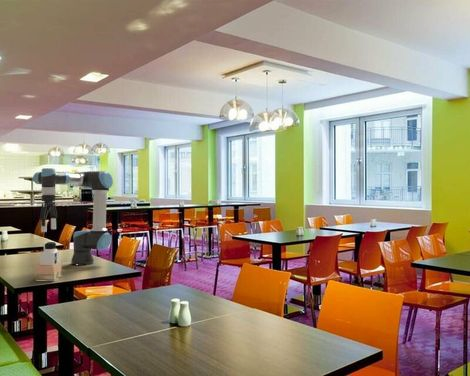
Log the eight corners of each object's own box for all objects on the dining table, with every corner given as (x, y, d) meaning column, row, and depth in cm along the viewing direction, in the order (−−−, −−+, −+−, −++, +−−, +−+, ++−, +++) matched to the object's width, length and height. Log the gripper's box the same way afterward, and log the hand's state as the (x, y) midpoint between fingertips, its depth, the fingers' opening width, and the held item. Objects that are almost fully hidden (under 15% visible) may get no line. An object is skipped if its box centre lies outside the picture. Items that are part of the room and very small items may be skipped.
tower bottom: (42, 277, 265) (42, 270, 265) (61, 277, 265) (61, 270, 265) (35, 282, 254) (34, 274, 254) (54, 282, 254) (54, 274, 254)
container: (58, 263, 263) (59, 241, 263) (53, 265, 256) (53, 243, 255) (46, 262, 264) (46, 241, 263) (40, 265, 256) (40, 243, 255)
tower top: (43, 270, 265) (43, 262, 265) (61, 270, 265) (61, 263, 265) (34, 274, 254) (34, 266, 254) (53, 274, 254) (53, 266, 254)
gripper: (50, 193, 272) (51, 228, 273) (32, 195, 247) (33, 233, 248) (63, 193, 272) (63, 228, 273) (46, 195, 247) (46, 232, 248)
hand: (48, 230), depth 260 cm, fingers open, 13 cm apart
